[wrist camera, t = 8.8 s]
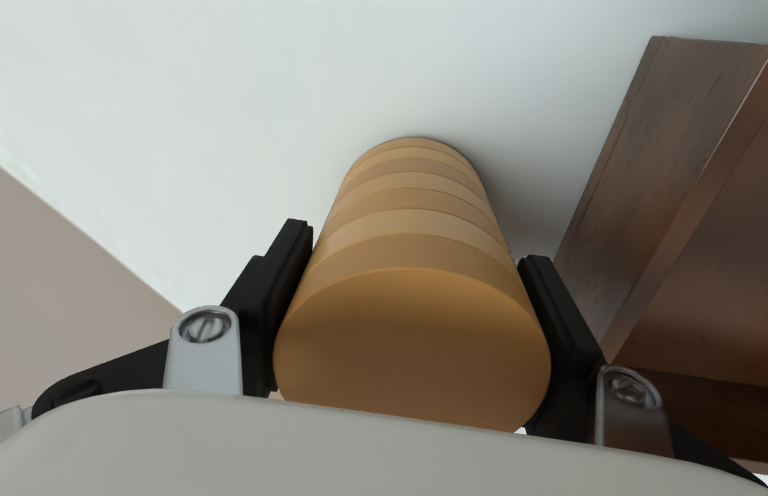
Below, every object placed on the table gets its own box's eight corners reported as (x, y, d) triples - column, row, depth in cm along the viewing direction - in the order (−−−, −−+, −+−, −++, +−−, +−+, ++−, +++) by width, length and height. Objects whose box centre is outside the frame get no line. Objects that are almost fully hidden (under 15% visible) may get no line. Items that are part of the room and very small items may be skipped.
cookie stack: (361, 114, 15) (301, 225, 7) (511, 166, 15) (614, 321, 7) (324, 247, 18) (254, 427, 10) (450, 285, 18) (477, 482, 11)
